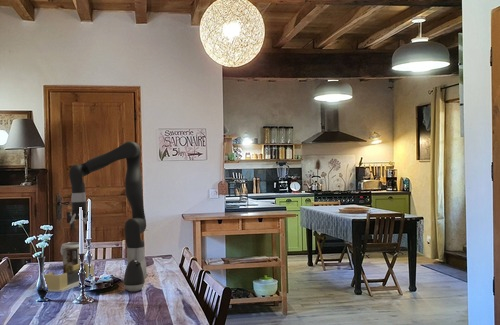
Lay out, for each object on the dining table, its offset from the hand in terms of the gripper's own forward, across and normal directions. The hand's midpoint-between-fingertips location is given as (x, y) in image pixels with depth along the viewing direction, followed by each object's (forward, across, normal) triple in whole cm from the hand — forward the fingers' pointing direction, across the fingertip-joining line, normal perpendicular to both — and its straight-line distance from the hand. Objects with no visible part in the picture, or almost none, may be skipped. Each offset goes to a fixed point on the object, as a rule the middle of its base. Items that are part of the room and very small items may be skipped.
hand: (79, 230), depth 265 cm
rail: (+26, 0, +10) cm, 28 cm away
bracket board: (+27, 0, +10) cm, 29 cm away
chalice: (+27, +26, -30) cm, 48 cm away
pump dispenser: (+28, -41, +17) cm, 52 cm away
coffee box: (+27, +10, -8) cm, 30 cm away
